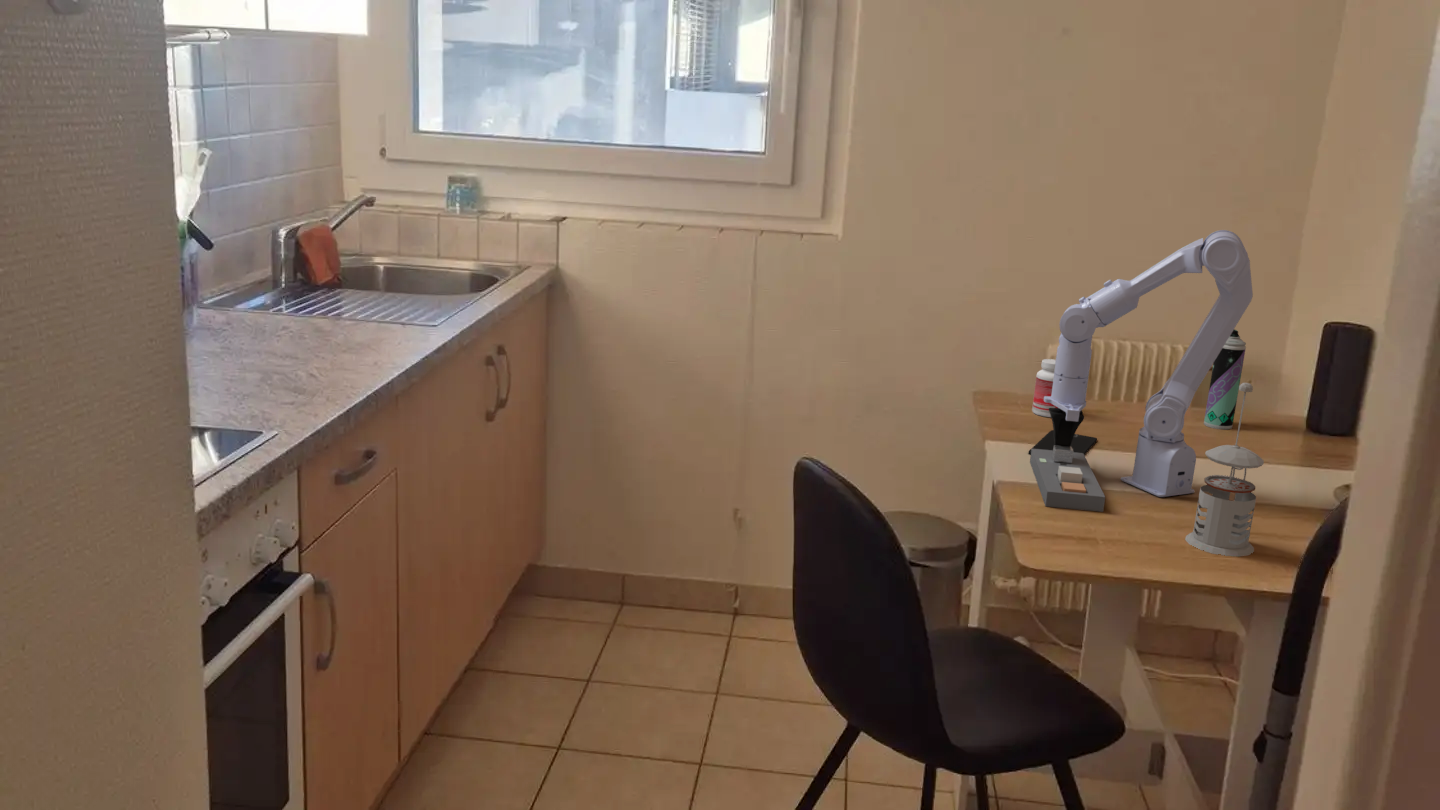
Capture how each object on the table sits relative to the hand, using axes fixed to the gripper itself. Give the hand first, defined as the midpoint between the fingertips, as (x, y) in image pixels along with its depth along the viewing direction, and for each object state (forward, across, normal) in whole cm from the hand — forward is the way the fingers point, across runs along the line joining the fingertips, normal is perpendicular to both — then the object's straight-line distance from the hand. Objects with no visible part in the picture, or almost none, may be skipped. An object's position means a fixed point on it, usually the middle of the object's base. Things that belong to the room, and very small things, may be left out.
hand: (1061, 450), depth 218 cm
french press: (+4, +29, +20) cm, 36 cm away
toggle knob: (+1, +2, 0) cm, 2 cm away
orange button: (+3, +17, 0) cm, 17 cm away
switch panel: (+4, +8, 0) cm, 9 cm away
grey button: (+2, +12, 0) cm, 12 cm away
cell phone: (+4, -16, +3) cm, 17 cm away
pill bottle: (+4, -40, +2) cm, 40 cm away
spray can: (+4, -42, +37) cm, 56 cm away
